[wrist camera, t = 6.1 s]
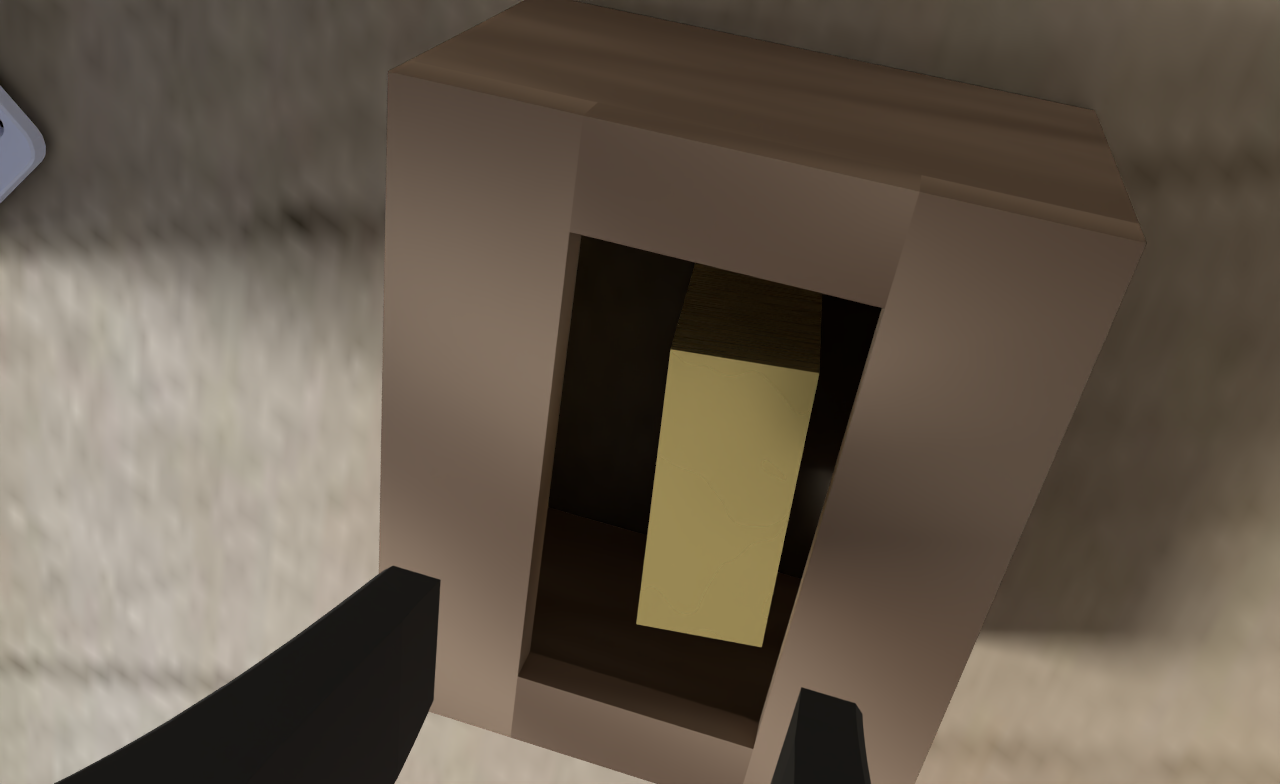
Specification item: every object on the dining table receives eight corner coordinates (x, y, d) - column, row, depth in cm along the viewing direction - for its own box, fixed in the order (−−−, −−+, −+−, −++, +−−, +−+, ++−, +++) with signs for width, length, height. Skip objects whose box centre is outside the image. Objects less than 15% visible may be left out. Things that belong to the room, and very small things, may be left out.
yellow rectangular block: (709, 214, 19) (670, 349, 14) (824, 231, 18) (818, 373, 14) (676, 450, 21) (636, 624, 17) (777, 467, 21) (761, 647, 17)
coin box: (538, -8, 18) (388, 71, 13) (1094, 110, 16) (1146, 243, 12) (492, 513, 23) (376, 694, 19) (900, 630, 22) (883, 855, 18)
